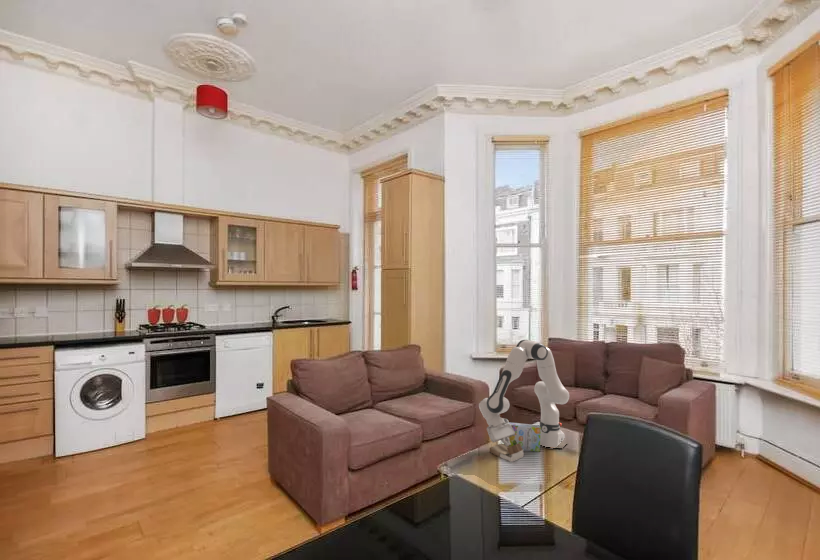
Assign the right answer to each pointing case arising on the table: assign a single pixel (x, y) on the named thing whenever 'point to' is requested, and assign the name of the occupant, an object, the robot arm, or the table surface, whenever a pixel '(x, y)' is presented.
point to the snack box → (526, 436)
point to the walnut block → (514, 449)
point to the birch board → (499, 449)
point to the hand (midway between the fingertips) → (508, 445)
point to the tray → (512, 456)
